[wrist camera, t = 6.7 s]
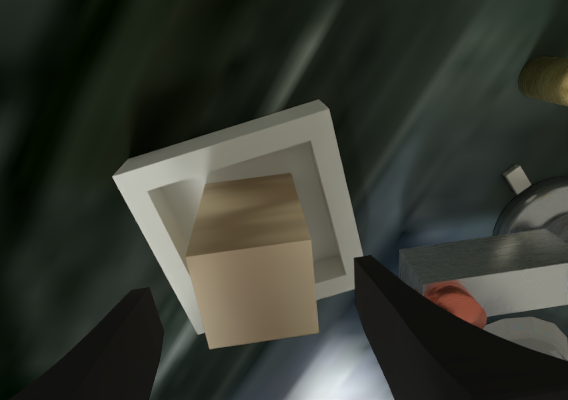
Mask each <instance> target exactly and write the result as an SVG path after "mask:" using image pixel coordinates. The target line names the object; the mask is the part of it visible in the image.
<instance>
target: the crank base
mask: <svg viewBox="0 0 568 400" xmlns="http://www.w3.org/2000/svg"><path fill="white" fill-rule="evenodd" d="M519 89H520V91H521V92H522V94H523V95H525V96H527V97H530V98H535V99H539V100H543V101H547V102H551V103H556V104H560V105H564V106H568V58H561V57H550V56H540V57H537V58H535V59H533V60H531V61H530V62H529V63H528V64H527V65H526V66H525V67H524V69H523V70H522V72H521V74H520V77H519ZM503 176H504V178H505V179H506V181H507V182H508V184H509V185H510V187H511V189H512V190H513V192H514V193H516V194H519V193H520V192H521V193H520V194H519V195H518V196H516V197H515V198H514V199H513V200H512V201H511V202H510V203H509V204H508V205H507V207H506V208H505V209H504V210H503V212H502V213H501V215H500V217H499V218H498V221H497V223H496V225H495V228H494V232H493V236H497V235H504V234H511V233H518V232H525V231H532V230H539V229H545V228H547V227H548V226H549V225H550V224H551V223H552V222H554V221H555V220H556V219H558V218H559V217H561V216H563V215H565V214H568V177H556V178H551V179H547V180H544V181H541V182H539V183H537V184H534V185H532V186H531V187H529V186H530V185H531V183H530V181H529V180H528V178H527V176H526V175H525V173H524V171H523V170H522V168H521V166H520V165H518V164H515V165H514V166H512V167H511V168H510V169H508V170H507V171H506V172H504V173H503ZM528 187H529V188H528ZM526 188H527V189H526ZM525 189H526V190H525ZM523 190H524V191H523ZM522 191H523V192H522Z"/></svg>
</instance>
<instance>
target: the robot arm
mask: <svg viewBox="0 0 568 400" xmlns="http://www.w3.org/2000/svg"><path fill="white" fill-rule="evenodd" d="M354 283H355V304H356V307H357V311H358V314H359V317H360V320H361V323H362V327H363V329H364V332H365V334H366V336H367V338H368V341H369V343H370V345H371V347H372V350H373V352H374V354H375V356H376V358H377V360H378V363H379V365H380V367H381V369H382V371H383V374H384V376H385V378H386V380H387V382H388V385H389V387H390V389H391V392H392V394H393V397H394V399H395V400H568V361H566V360H563V359H560V358H557V357H554V356H551V355H548V354H544V353H541V352H538V351H535V350H532V349H530V348H527V347H524V346H522V345H519V344H516V343H514V342H511V341H509V340H506V339H504V338H501V337H499V336H497V335H494V334H492V333H490V332H488V331H486V330H483V329H481V328H479V327H477V326H475V325H473V324H471V323H469V322H467V321H465V320H463V319H461V318H459V317H457V316H456V315H454V314H452V313H450V312H448V311H447V310H445V309H443V308H441V307H440V306H438V305H436V304H435V303H433V302H432V301H430V300H429V299H427V298H426V297H424V296H423V295H421V294H420V293H418V292H417V291H415V290H414V289H413V288H411V287H410V286H409V285H407V284H406V283H405V282H403V281H402V280H401V279H399V278H398V277H397V276H396V275H394V274H393V273H392V272H391V271H389V270H388V269H387V268H386V267H384V266H383V265H382V264H381V263H380V262H378V261H377V260H376V259H375V258H373V257H372V256H371V255H368V256H362V257H355V258H354ZM163 336H164V330H163V327H162V324H161V321H160V318H159V315H158V312H157V309H156V306H155V303H154V300H153V297H152V294H151V291H150V288H142V289H135V290H131V291H130V292H129V293H128V294H127V295H126V296H125V297H124V298H123V299H122V300H121V301H120V302H119V303H118V304H117V305H116V306H115V307H114V308H113V309H112V310H111V311H110V312H109V313H108V314H107V315H106V316H105V317H104V319H103V320H102V321H101V322H100V323H99V324H98V325H97V326H96V327H95V328H94V329H93V330H92V331H91V332H90V333H89V334H88V335H86V336H85V337H84V338H83V339H82V340H81V341H80V342H79V343H78V344H77V345H76V346H75V347H74V348H73V349H72V350H70V351H69V352H68V353H67V354H66V355H65V356H64V357H63V358H62V359H61V360H59V361H58V362H57V363H56V364H55V365H54V366H52V367H51V368H50V369H49V370H48V371H46V372H45V373H44V374H43V375H41V376H40V377H39V378H38V379H37V380H35V381H34V382H33V383H31V384H30V385H29V386H28V387H26V388H25V389H23V390H22V391H21V392H19V393H18V394H16V395H15V396H14V397H12V398H11V399H10V400H149V397H150V393H151V390H152V387H153V383H154V380H155V376H156V373H157V369H158V365H159V362H160V357H161V351H162V344H163Z"/></svg>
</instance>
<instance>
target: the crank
mask: <svg viewBox="0 0 568 400" xmlns="http://www.w3.org/2000/svg"><path fill="white" fill-rule="evenodd" d="M399 279H401V280H402V281H403V282H405V283H406V284H407V285H409V286H410V287H411V288H413V289H414V290H415V291H417V292H418V293H420V294H421V295H423V296H424V297H426V298H427V299H429V300H430V301H432V302H433V303H435V304H436V305H438V306H440V307H441V308H443V309H445V310H447V311H448V312H450V313H452V314H454V315H456V316H457V317H459V318H461V319H463V320H465V321H467V322H469V323H471V324H473V325H475V326H477V327H479V328H481V329H483V328H484V327H485V324H486V321H487V317H489V316H496V315H502V314H509V313H515V312H522V311H529V310H535V309H542V308H548V307H555V306H561V305H568V214H565V215H563V216H561V217H559V218H558V219H556V220H555V221H554V222H552V223H551V224H550V225H549V226H548V227H547V228H545V229H539V230H532V231H525V232H518V233H511V234H504V235H497V236H490V237H483V238H476V239H469V240H462V241H455V242H448V243H441V244H434V245H427V246H421V247H414V248H407V249H400V250H399Z"/></svg>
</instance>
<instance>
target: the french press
mask: <svg viewBox="0 0 568 400" xmlns="http://www.w3.org/2000/svg"><path fill="white" fill-rule="evenodd" d="M483 330H486V331H488V332H490V333H492V334H494V335H497V336H499V337H501V338H504V339H506V340H509V341H511V342H514V343H516V344H519V345H522V346H524V347H527V348H530V349H532V350H535V351H538V352H541V353H544V354H548V355H551V356H554V357H557V358H560V359H563V360H566V361H568V343H567V337H566V336H565V335H564V334H563V333H562V331H561V330H560V329H559V328H558V327H557V326H556V325H555V324H554V323H551V322H548V321H544V320H541V319H538V318H535V317H520V318H506V319H501V320H498V321H496V322H493V323H490V324H487V325H485V327H484V328H483Z"/></svg>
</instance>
